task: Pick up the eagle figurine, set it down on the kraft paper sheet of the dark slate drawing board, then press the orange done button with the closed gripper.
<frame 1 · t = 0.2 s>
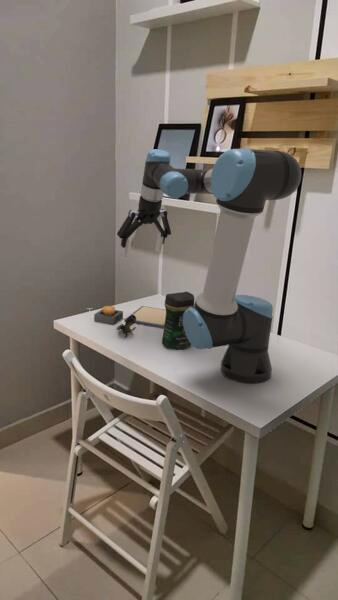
hand: (141, 253, 169), 27 cm above the table, tool tilted 15°, fingers open, 13 cm apart
coffee jar: (176, 346, 159), on the table
drawing board: (152, 317, 184), on the table
eagle figurine: (127, 334, 167), on the table
button housing: (108, 320, 179), on the table
done button: (108, 310, 178), point 4 cm above the table, slide at 0.0 cm
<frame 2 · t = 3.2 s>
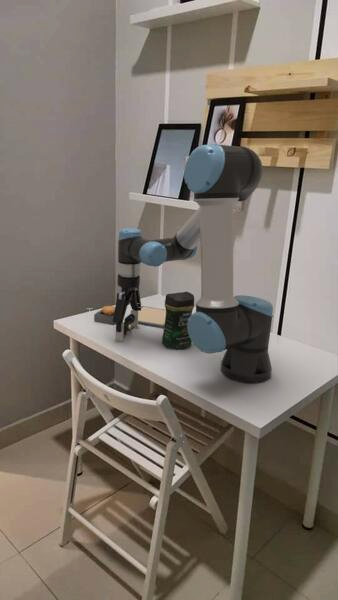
hand: (127, 333, 166), 0 cm above the table, tool pointing down, fingers open, 12 cm apart
eagle figurine: (125, 333, 168), on the table
everything else where it was.
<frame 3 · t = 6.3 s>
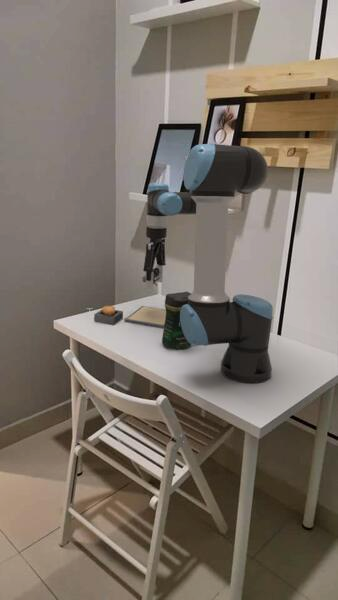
hand: (154, 285, 180), 13 cm above the table, tool pointing down, fingers closed on eagle figurine, 10 cm apart
eagle figurine: (151, 286, 180), point 13 cm above the table, touching gripper
everything else where it was.
when the fingers open (2 cm above the table, at t = 8.9 s): eagle figurine stays where it is, resting on drawing board.
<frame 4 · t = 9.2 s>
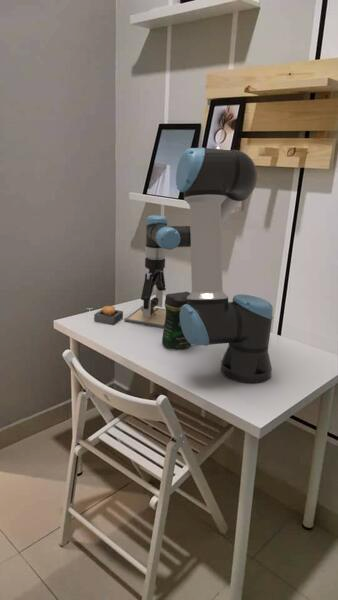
hand: (152, 311, 183), 3 cm above the table, tool pointing down, fingers open, 13 cm apart
eagle figurine: (150, 315, 184), point 1 cm above the table, touching drawing board
everything else where it was.
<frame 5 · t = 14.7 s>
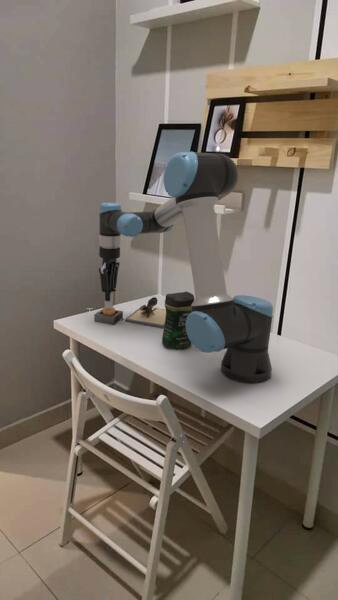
hand: (108, 308, 178), 5 cm above the table, tool pointing down, fingers closed
done button: (108, 312, 178), point 3 cm above the table, slide at 0.5 cm, touching gripper
everything else where it was.
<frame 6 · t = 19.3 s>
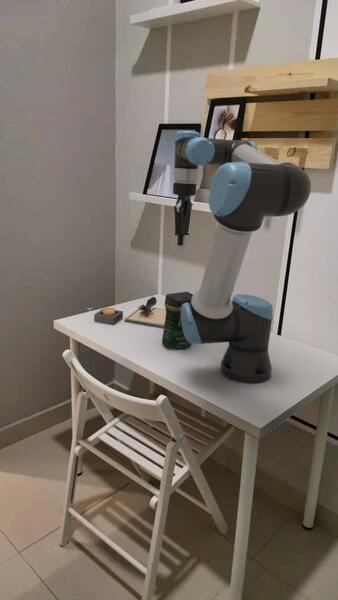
hand: (180, 254, 158), 29 cm above the table, tool pointing down, fingers closed
done button: (108, 312, 178), point 3 cm above the table, slide at 0.8 cm
at the end: eagle figurine inside the target area on the drawing board (2.0 cm from its centre), point 0.9 cm above the drawing board's base; eagle figurine tilted 0°; done button slide at 0.8 cm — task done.
